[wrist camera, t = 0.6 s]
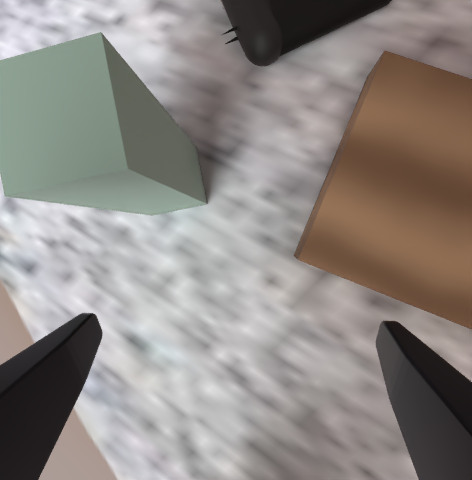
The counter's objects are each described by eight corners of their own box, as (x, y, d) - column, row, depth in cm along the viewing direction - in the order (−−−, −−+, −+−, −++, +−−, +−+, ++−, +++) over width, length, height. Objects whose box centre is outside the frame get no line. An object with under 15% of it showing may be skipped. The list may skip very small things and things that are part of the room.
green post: (207, 204, 22) (127, 168, 9) (152, 215, 23) (4, 196, 10) (196, 146, 22) (101, 32, 9) (141, 159, 23) (-22, 66, 10)
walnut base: (478, 329, 21) (513, 346, 18) (293, 255, 22) (298, 259, 19) (565, 143, 20) (619, 127, 17) (367, 76, 21) (384, 50, 18)
